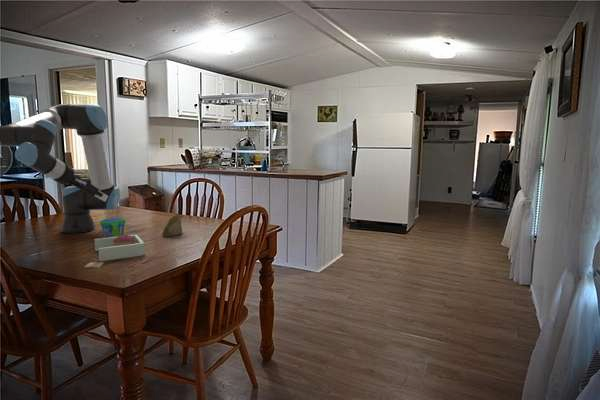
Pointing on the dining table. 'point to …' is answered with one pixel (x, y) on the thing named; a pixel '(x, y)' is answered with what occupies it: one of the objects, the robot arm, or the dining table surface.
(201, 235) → the dining table surface
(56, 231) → the dining table surface
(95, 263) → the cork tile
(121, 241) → the cupcake
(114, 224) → the snack cup
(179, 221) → the rock
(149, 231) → the dining table surface
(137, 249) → the tray
